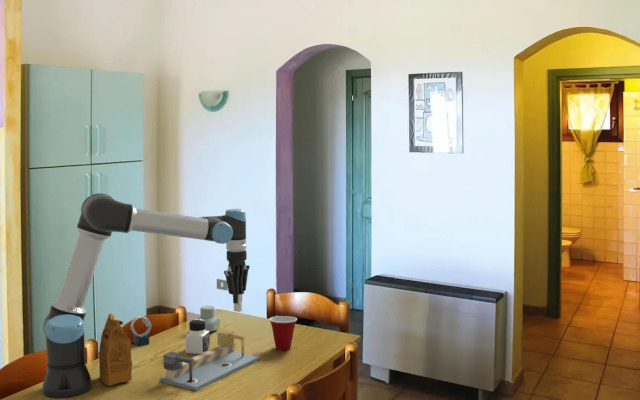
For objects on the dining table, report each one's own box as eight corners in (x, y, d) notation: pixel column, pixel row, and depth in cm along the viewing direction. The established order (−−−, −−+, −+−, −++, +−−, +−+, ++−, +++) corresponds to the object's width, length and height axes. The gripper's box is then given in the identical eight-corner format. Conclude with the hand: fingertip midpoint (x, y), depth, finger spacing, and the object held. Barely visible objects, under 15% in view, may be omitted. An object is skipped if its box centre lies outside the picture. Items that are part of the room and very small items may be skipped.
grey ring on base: (154, 343, 267) (153, 316, 266) (134, 347, 263) (133, 319, 261) (148, 339, 272) (147, 313, 271) (129, 343, 267) (128, 316, 266)
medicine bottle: (203, 354, 254) (202, 323, 253) (185, 353, 256) (184, 322, 254) (210, 348, 261) (209, 318, 260) (192, 347, 263) (192, 317, 261)
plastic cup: (298, 343, 267) (298, 314, 265) (295, 353, 256) (295, 322, 255) (271, 343, 268) (271, 313, 267) (267, 352, 257) (266, 321, 256)
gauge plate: (196, 390, 220) (196, 387, 219) (160, 381, 228) (160, 377, 228) (258, 360, 248) (258, 356, 248) (224, 352, 257) (224, 349, 257)
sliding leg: (240, 357, 246) (240, 337, 245) (217, 352, 252) (217, 332, 251) (247, 354, 250) (247, 334, 249) (224, 349, 255) (224, 329, 254)
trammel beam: (188, 383, 223) (187, 360, 222) (164, 377, 228) (163, 354, 227) (250, 354, 251) (250, 333, 251) (227, 348, 257) (227, 329, 256)
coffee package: (125, 371, 237) (123, 310, 235) (135, 382, 226) (133, 319, 224) (96, 376, 232) (94, 314, 230) (104, 388, 221) (102, 323, 219)
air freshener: (212, 335, 278) (211, 311, 277) (193, 333, 280) (192, 310, 279) (221, 327, 289) (221, 304, 288) (203, 326, 291) (203, 303, 290)
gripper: (233, 253, 247) (234, 316, 249) (254, 248, 258) (256, 308, 260) (217, 252, 251) (219, 313, 253) (239, 246, 262) (240, 305, 264)
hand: (237, 310), depth 257 cm, fingers closed
